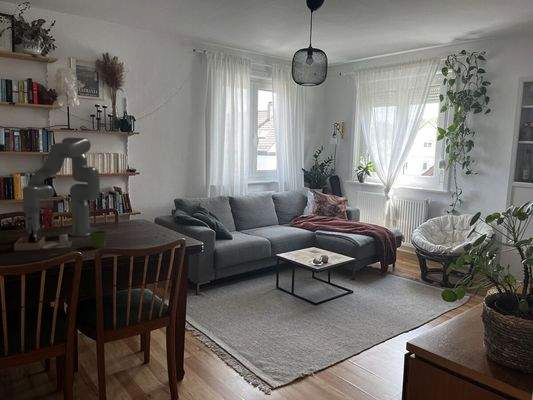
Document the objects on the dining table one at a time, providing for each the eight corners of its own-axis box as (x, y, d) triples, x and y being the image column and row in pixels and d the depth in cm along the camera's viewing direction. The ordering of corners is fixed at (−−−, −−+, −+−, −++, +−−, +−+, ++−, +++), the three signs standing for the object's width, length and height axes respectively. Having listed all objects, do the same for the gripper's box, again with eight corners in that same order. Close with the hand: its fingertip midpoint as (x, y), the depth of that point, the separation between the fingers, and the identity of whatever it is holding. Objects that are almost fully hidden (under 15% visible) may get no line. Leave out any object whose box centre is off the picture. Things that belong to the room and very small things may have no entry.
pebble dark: (38, 244, 218) (37, 233, 218) (36, 245, 215) (36, 235, 214) (29, 244, 217) (29, 234, 216) (28, 246, 213) (27, 235, 213)
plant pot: (93, 245, 226) (92, 230, 224) (110, 245, 226) (110, 230, 225) (87, 249, 216) (86, 233, 215) (105, 249, 217) (104, 234, 216)
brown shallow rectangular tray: (45, 243, 226) (44, 236, 225) (39, 250, 211) (39, 243, 211) (21, 244, 222) (21, 237, 221) (14, 251, 207) (13, 244, 207)
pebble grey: (68, 244, 224) (68, 234, 224) (67, 245, 221) (67, 235, 220) (60, 244, 223) (60, 234, 222) (59, 246, 219) (59, 236, 219)
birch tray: (72, 242, 229) (72, 240, 229) (69, 248, 217) (69, 246, 216) (45, 244, 225) (45, 242, 225) (40, 250, 212) (40, 247, 212)
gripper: (36, 211, 207) (37, 246, 209) (42, 207, 222) (43, 239, 225) (19, 212, 204) (21, 247, 207) (26, 207, 220) (28, 240, 222)
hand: (33, 242), depth 216 cm, fingers closed on pebble dark, 4 cm apart
